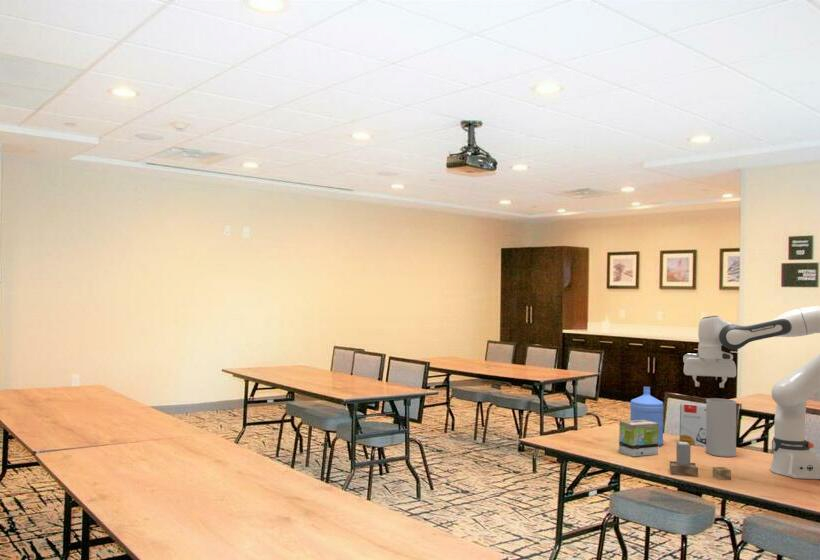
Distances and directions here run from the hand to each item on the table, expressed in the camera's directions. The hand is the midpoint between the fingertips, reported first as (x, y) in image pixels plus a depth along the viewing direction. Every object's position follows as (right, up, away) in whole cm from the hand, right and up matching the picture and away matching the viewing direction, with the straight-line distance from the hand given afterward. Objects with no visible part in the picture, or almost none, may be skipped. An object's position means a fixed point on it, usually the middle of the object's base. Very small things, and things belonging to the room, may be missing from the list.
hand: (709, 386), depth 274 cm
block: (-1, -35, -12) cm, 37 cm away
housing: (-13, -32, -5) cm, 35 cm away
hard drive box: (+16, -37, +49) cm, 64 cm away
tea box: (-20, -36, +28) cm, 50 cm away
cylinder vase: (+19, -36, +29) cm, 50 cm away
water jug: (-9, -37, +49) cm, 62 cm away
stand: (-13, -35, -5) cm, 38 cm away
